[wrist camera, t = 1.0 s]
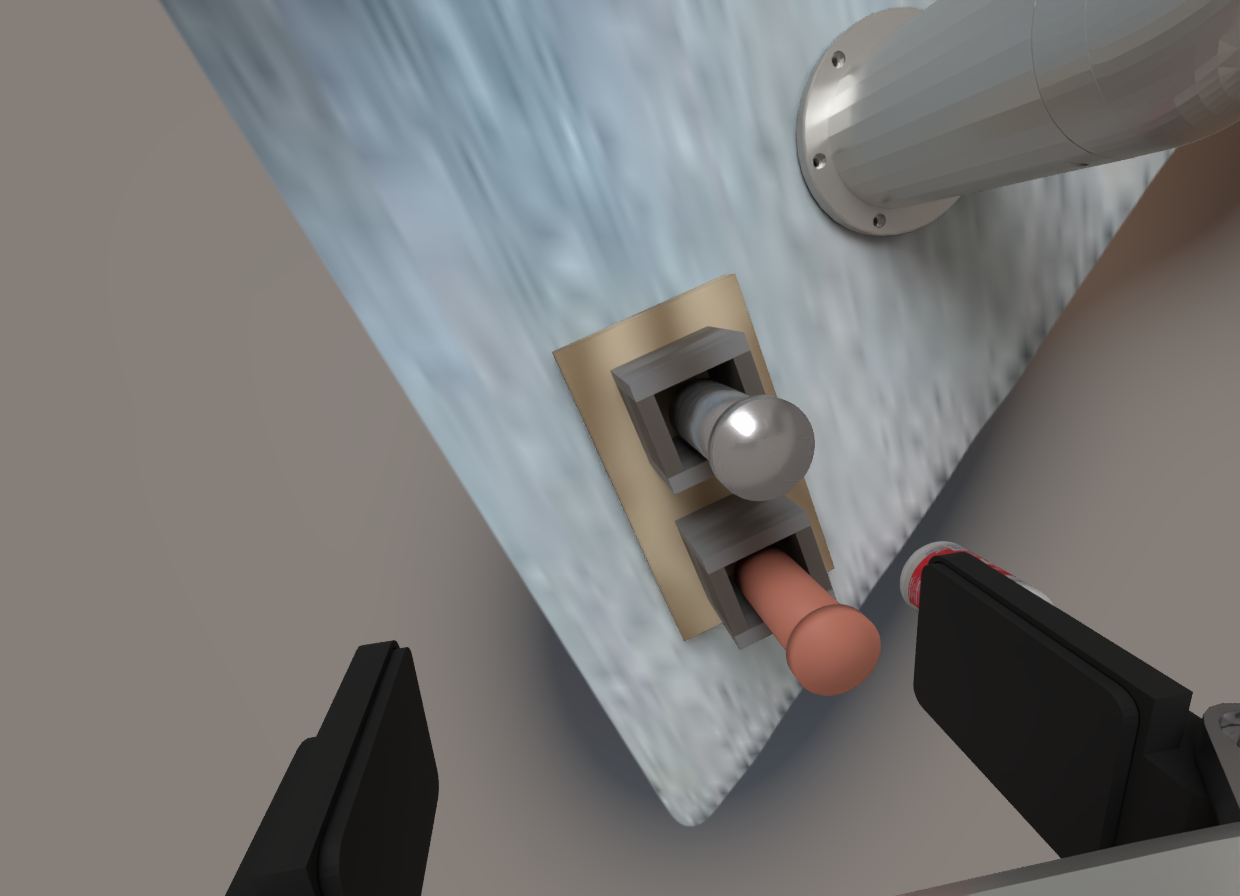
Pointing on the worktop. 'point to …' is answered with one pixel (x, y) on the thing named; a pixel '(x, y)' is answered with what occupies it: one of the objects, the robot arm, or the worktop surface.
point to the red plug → (809, 623)
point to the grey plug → (744, 437)
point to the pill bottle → (921, 557)
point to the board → (687, 454)
